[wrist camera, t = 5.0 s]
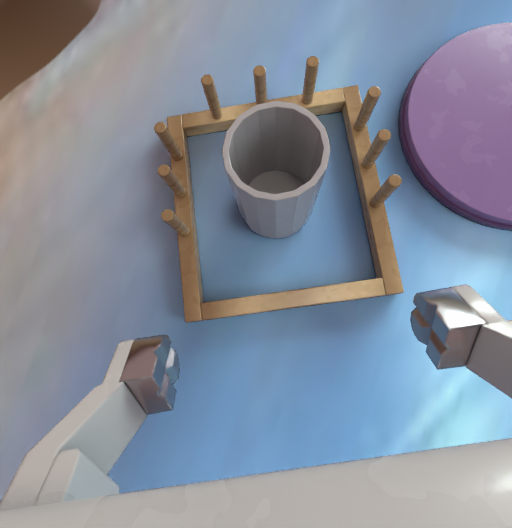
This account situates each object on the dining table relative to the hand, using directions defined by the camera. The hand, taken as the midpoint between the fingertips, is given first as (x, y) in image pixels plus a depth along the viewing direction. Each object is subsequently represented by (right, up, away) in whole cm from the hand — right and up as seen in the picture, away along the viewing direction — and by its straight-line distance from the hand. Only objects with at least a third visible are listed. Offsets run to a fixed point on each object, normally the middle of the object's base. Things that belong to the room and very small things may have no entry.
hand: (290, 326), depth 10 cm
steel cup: (0, +7, +13) cm, 15 cm away
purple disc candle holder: (+18, +12, +13) cm, 25 cm away
